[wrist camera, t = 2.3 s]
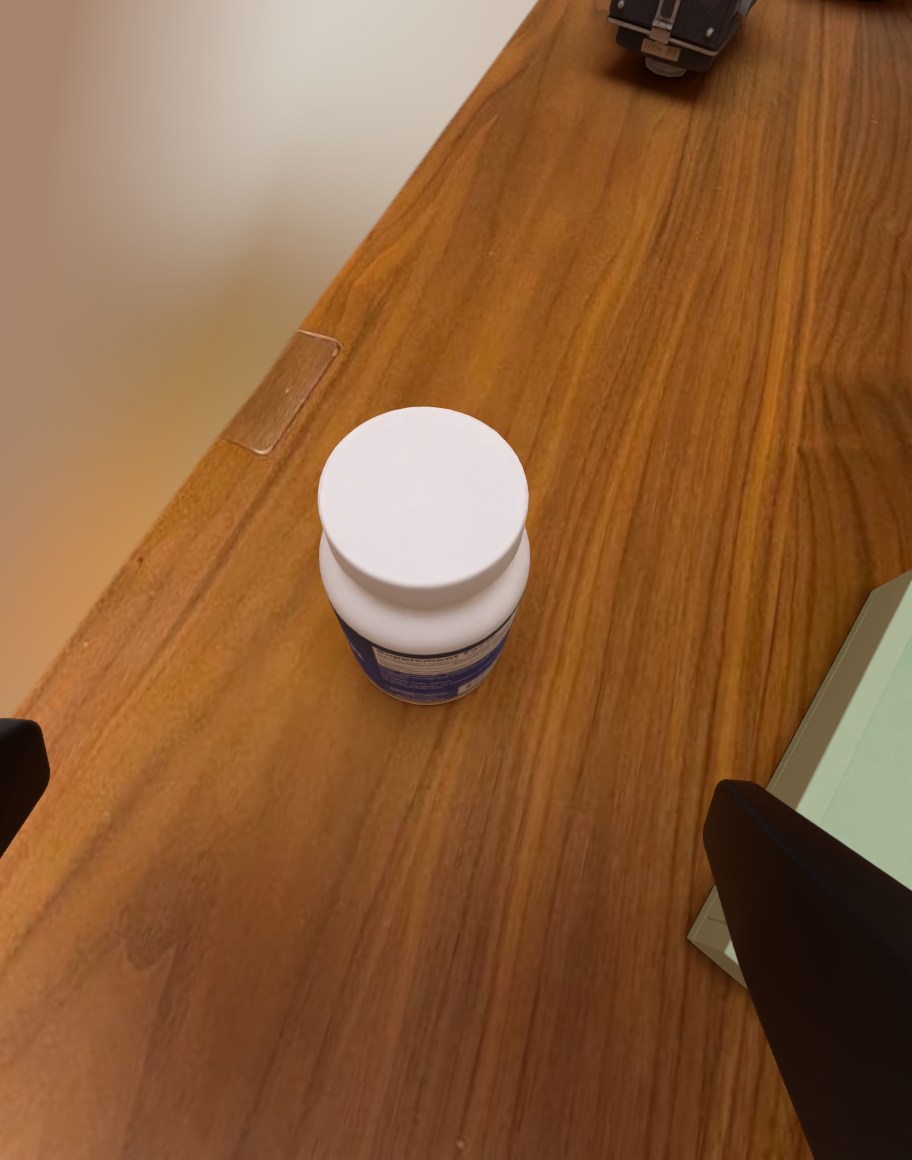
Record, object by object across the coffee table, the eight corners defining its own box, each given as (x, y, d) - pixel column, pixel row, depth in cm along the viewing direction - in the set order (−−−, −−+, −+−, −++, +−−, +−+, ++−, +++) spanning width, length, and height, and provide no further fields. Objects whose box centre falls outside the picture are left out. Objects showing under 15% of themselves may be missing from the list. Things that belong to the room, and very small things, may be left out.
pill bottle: (353, 569, 22) (299, 387, 13) (494, 564, 22) (538, 383, 13) (351, 714, 20) (283, 614, 11) (509, 705, 20) (573, 601, 11)
